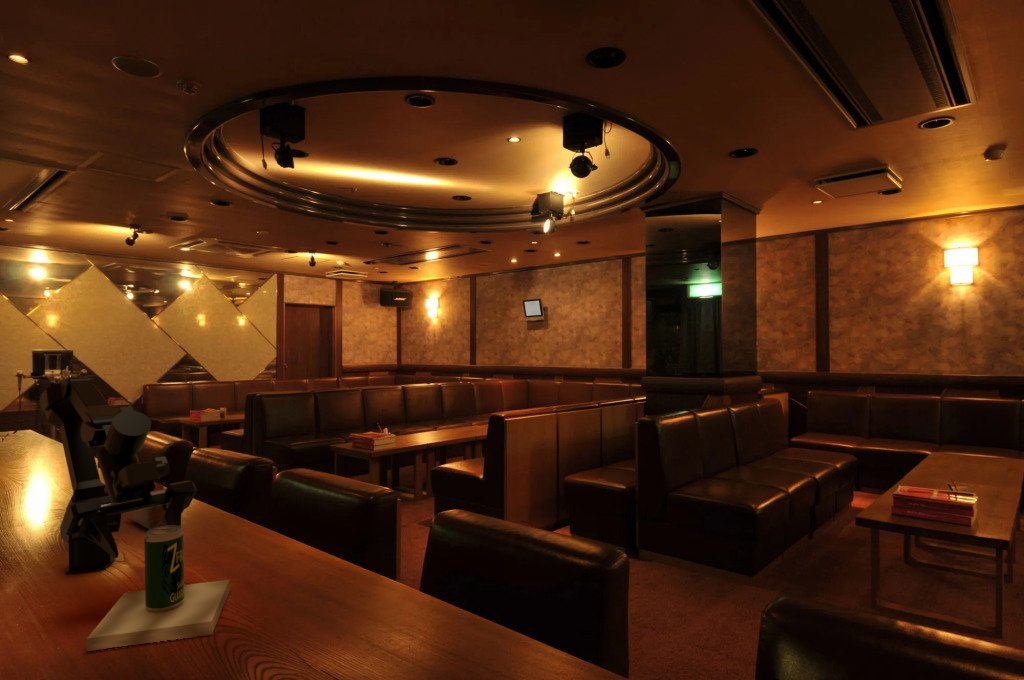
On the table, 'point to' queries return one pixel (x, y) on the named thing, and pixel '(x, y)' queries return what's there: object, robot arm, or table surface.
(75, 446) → the robot arm
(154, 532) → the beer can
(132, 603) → the serving board
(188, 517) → the table surface
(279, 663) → the table surface
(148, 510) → the food item
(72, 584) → the table surface
